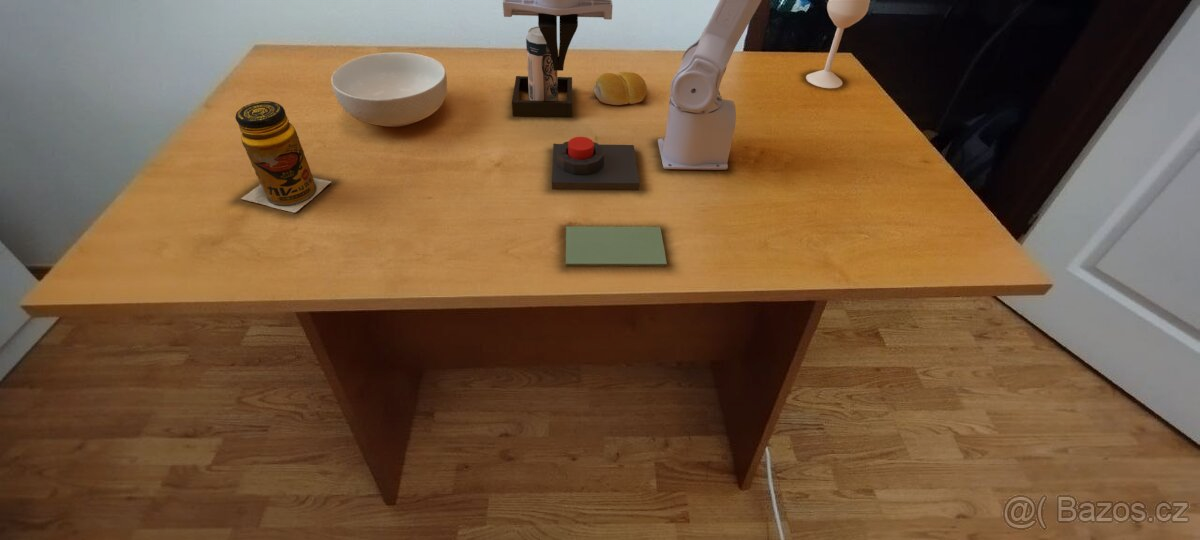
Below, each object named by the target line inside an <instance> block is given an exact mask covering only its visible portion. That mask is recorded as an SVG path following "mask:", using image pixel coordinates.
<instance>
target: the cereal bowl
mask: <svg viewBox="0 0 1200 540" xmlns="http://www.w3.org/2000/svg"><path fill="white" fill-rule="evenodd" d="M330 83H331V87H332V91H333V94H334V96H335V98H336V101H337V103H339V105H340V107H341V108H342V109H343V111H345V112H346V113H347V114H348V115H349V116H351V117H352V118H355V119H356V120H359V121H360V122H363V123H366V124H370V125H374V126H375V125H376V126H382V127H386V128H387V127H388V128H397V127H398V128H399V127H406V126H409V125H412V124H414V123H415V124H416V122H420V121H422V120H425V119H426V118H428V117H430V116H431V115H433V114H434V113H435V112H437V111H438V110H439V108H440V107H441V106H442V105H443V103H444V101H445V99H446V95H447V92H448V91H447V90H448V80H447V72H446V68H445V66H444V65H443V64H442V62H440V61H439V60H437V59H436V58H433V57H430V56H427V55H424V54H419V53H415V52H414V53H413V52H404V51H403V52H402V51H389V52H388V51H387V52H376V53H371V54H367V55H362V56H359V57H355V58H353V59H350V60H348V61H346V62H344V63H342V64H341V65H340V66H339V67H337V68H336V69H335V70H334V71H333V73H332V75H331V78H330Z"/></svg>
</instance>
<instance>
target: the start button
mask: <svg viewBox="0 0 1200 540" xmlns="http://www.w3.org/2000/svg"><path fill="white" fill-rule="evenodd" d="M568 141H569V142H568ZM568 141H567V142H568V155H569V157H571V158H574V159H577V160H585V159H588V158H592V157H593V155H594V142H595V141H594V140H592V139H591V138H589V137H587V136H575V137H572V138H570V139H569V140H568Z"/></svg>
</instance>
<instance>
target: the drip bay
mask: <svg viewBox="0 0 1200 540" xmlns="http://www.w3.org/2000/svg"><path fill="white" fill-rule="evenodd" d="M523 92H524V93H529V87H528V75H516V76H515V81H514V86H513V94H512V98H511V99H512V100H511V108H512V117H520V118H521V117H522V118H523V117H524V118H573V76H558V93H566V100H558V101H535V100H529V99H525V100H524V99H521V97H522V93H523Z"/></svg>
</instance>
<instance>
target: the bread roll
mask: <svg viewBox="0 0 1200 540" xmlns="http://www.w3.org/2000/svg"><path fill="white" fill-rule="evenodd" d="M647 92H648V87H647V84H646V81H645V79H644V78H643V77H642V75H639V74H638V73H636V72H633V71H632V72H631V71H622V72H621V71H620V72H618V73H616V74H615V73H612V72H606V73H602V74H600V75H599V76H598V77H597V78H596V80H595V84H594V88H593V93H594V95H595V97H596V98H597V100H599V101H600V102H601V103H603V104H606V105H610V106H622V105H627V104H631V105H632V104H633V105H634V104H638V103H640V102H642V101H643V100H644V99H645V97H646V95H647Z"/></svg>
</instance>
